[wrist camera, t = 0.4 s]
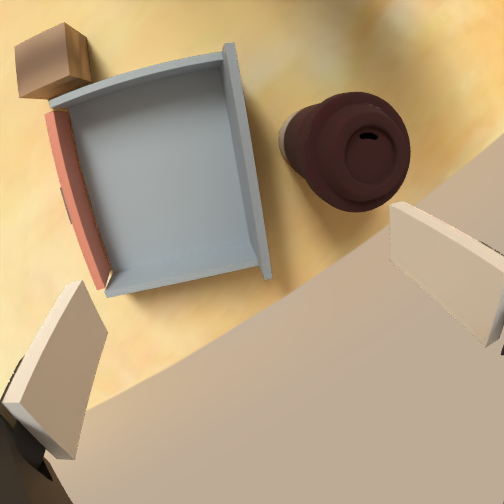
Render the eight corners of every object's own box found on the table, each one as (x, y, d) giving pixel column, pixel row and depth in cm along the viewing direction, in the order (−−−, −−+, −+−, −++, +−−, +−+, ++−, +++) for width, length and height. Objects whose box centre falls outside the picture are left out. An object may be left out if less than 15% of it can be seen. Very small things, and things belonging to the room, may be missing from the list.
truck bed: (71, 102, 28) (34, 99, 20) (224, 61, 30) (234, 42, 22) (117, 273, 38) (100, 314, 29) (255, 242, 39) (272, 278, 31)
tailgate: (57, 116, 28) (42, 115, 23) (67, 112, 28) (53, 110, 23) (101, 271, 36) (94, 290, 32) (110, 268, 36) (105, 288, 32)
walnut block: (42, 55, 25) (14, 46, 19) (86, 37, 25) (64, 22, 19) (48, 99, 27) (19, 97, 21) (92, 82, 28) (69, 75, 22)
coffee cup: (317, 195, 38) (379, 240, 24) (249, 152, 35) (284, 174, 21) (359, 130, 35) (439, 145, 22) (295, 82, 32) (357, 64, 18)
